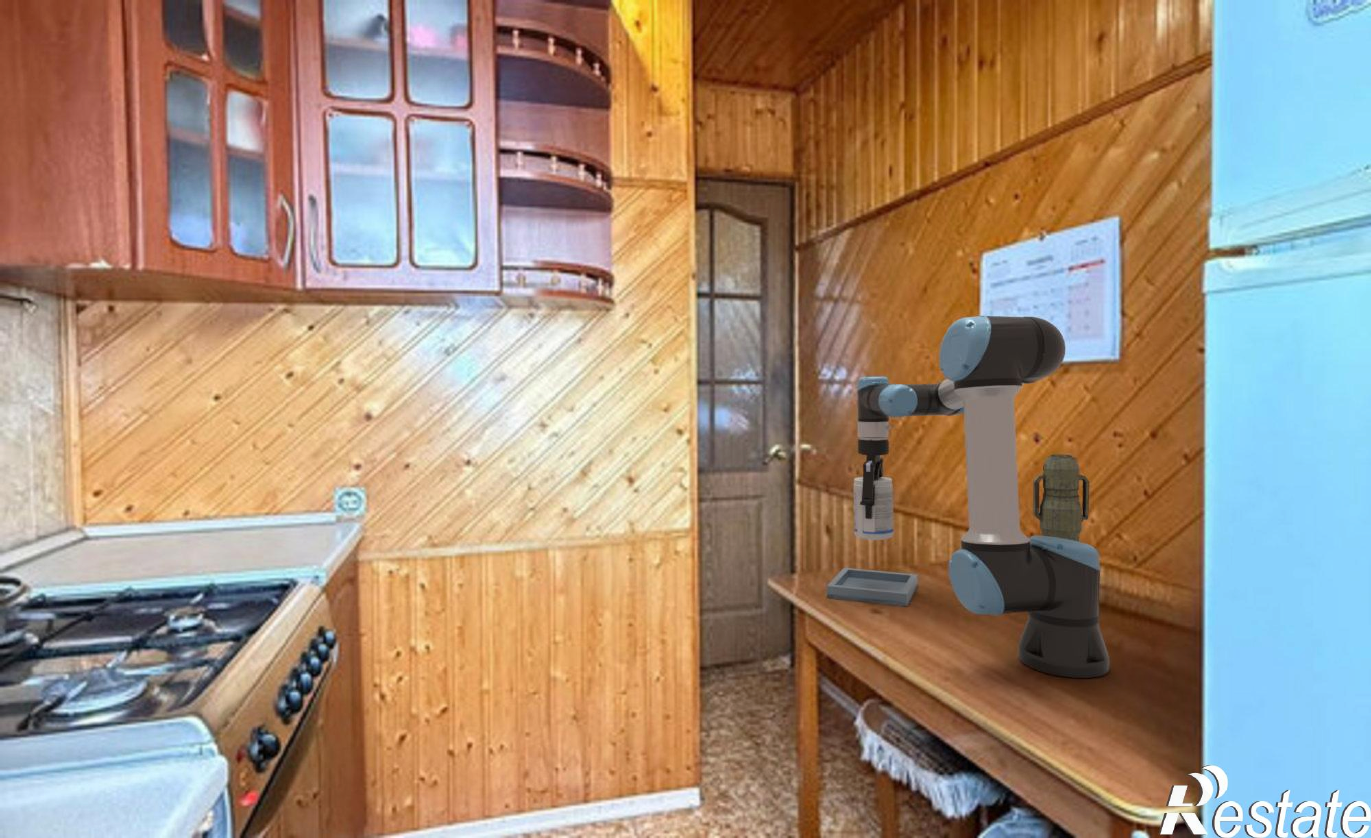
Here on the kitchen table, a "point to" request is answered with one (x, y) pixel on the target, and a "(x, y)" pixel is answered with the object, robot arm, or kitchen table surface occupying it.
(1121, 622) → the kitchen table surface
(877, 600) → the tray
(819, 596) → the kitchen table surface
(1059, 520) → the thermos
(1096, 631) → the robot arm
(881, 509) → the supplement tub
